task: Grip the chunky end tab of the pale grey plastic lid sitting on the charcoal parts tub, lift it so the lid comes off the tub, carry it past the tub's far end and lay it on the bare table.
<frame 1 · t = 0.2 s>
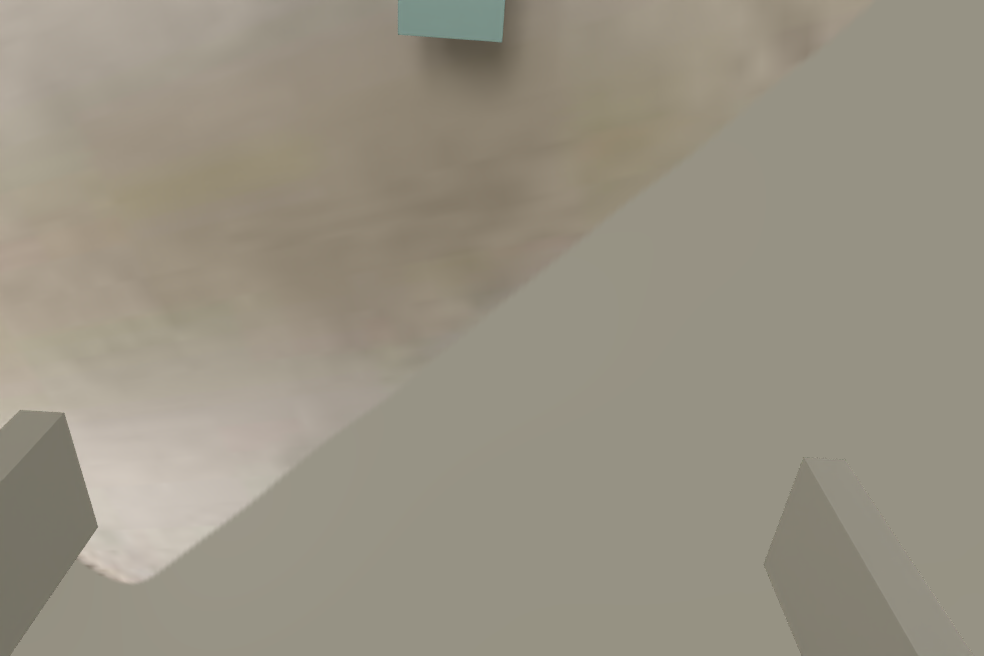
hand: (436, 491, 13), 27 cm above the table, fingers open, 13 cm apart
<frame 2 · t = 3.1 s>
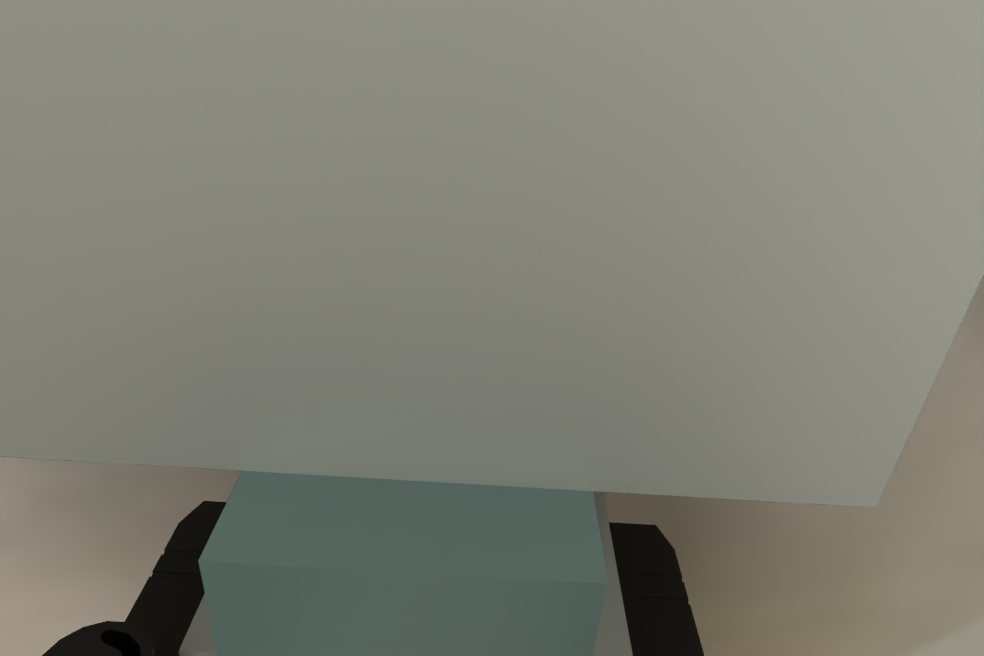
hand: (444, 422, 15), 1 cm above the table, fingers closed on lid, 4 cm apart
when the fingers open (0 cm above the table, at t = 11.6 s): lid drops 4 cm, point 1 cm above the table.
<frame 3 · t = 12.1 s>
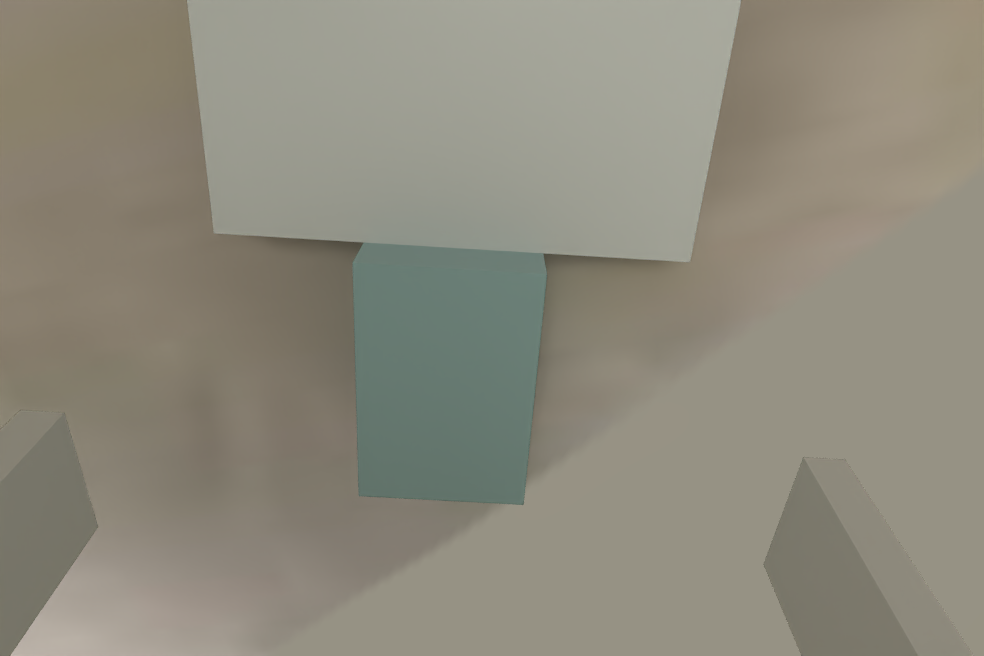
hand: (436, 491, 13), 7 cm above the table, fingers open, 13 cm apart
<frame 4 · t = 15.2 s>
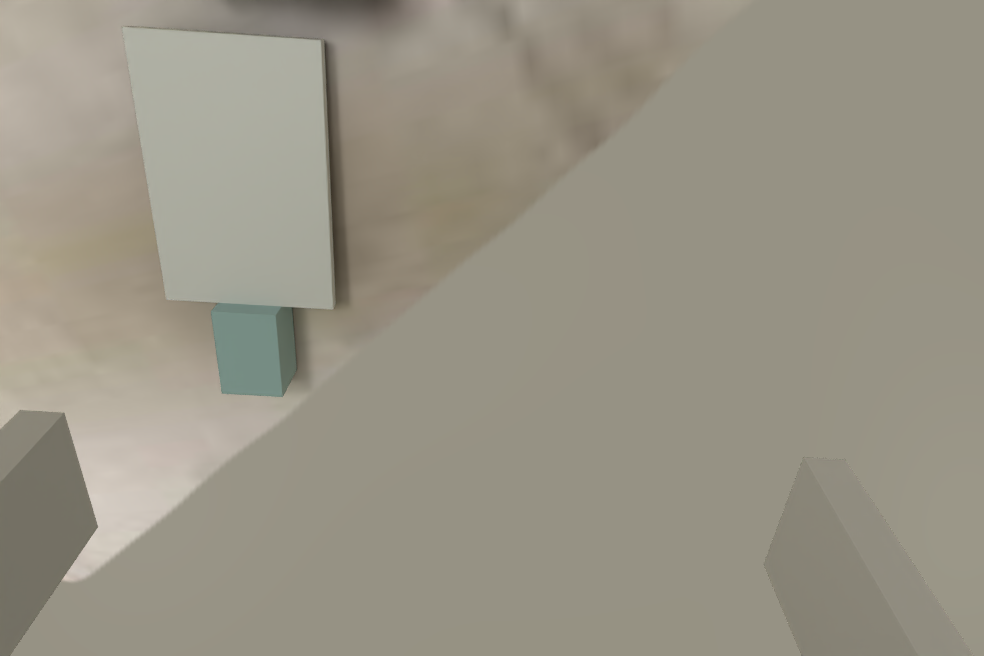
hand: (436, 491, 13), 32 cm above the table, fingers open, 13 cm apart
lid: (241, 177, 41), point 1 cm above the table
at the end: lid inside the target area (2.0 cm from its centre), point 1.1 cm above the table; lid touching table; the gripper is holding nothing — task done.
